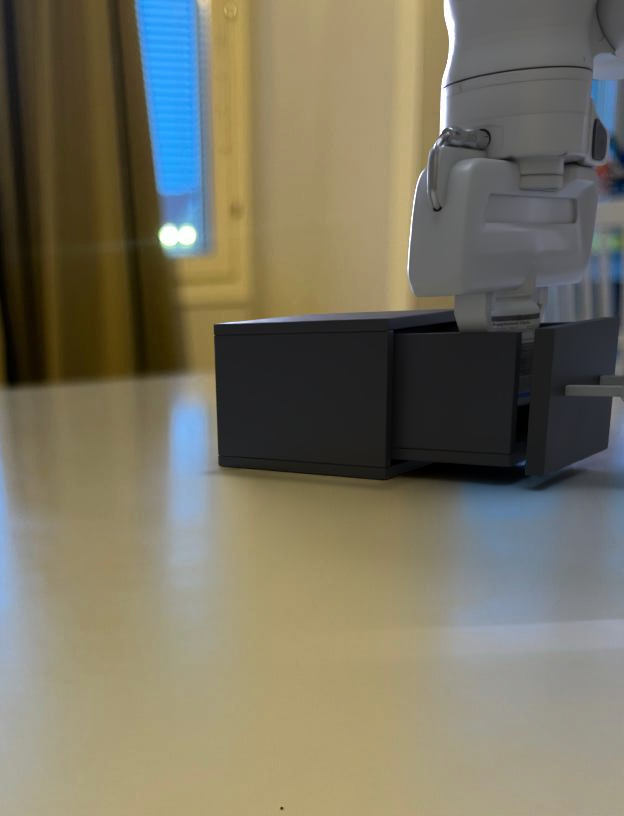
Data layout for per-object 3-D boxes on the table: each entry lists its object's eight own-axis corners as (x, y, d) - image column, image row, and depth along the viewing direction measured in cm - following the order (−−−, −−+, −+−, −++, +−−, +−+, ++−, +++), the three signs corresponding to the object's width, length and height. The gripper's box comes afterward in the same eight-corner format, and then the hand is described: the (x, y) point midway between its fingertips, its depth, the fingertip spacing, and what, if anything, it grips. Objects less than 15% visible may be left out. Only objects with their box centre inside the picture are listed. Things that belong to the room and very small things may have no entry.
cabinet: (467, 451, 77) (474, 307, 73) (384, 479, 68) (388, 318, 64) (307, 442, 86) (307, 314, 83) (217, 465, 77) (212, 324, 74)
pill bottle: (452, 402, 70) (457, 275, 67) (520, 398, 70) (528, 271, 67) (471, 409, 65) (477, 274, 63) (543, 405, 65) (553, 270, 62)
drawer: (681, 452, 66) (698, 314, 63) (623, 482, 58) (639, 326, 55) (429, 439, 78) (433, 322, 75) (352, 462, 70) (354, 332, 67)
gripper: (488, 113, 53) (476, 379, 58) (620, 137, 67) (601, 349, 72) (383, 131, 57) (379, 378, 62) (527, 151, 71) (515, 350, 76)
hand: (499, 362), depth 67 cm, fingers closed on pill bottle, 5 cm apart
